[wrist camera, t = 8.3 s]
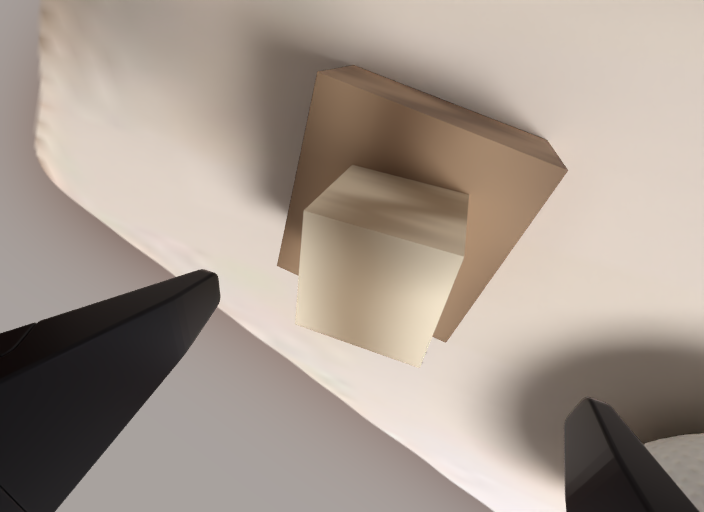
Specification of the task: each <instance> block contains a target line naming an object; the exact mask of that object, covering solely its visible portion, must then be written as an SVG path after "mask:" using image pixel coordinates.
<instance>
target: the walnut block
mask: <svg viewBox="0 0 704 512" xmlns="http://www.w3.org/2000/svg"><path fill="white" fill-rule="evenodd" d="M352 165H355V166H359V167H363V168H367V169H371V170H375V171H378V172H382V173H386V174H390V175H394V176H398V177H402V178H406V179H410V180H414V181H418V182H421V183H425V184H429V185H433V186H437V187H441V188H445V189H449V190H453V191H457V192H461V193H464V194H468V195H469V202H468V215H467V228H466V241H465V254H464V259H463V261H462V264H461V266H460V269H459V271H458V274H457V276H456V279H455V281H454V284H453V286H452V289H451V291H450V294H449V296H448V299H447V301H446V304H445V306H444V309H443V311H442V314H441V316H440V319H439V321H438V324H437V326H436V328H435V331H434V333H433V336H432V337H435V338H437V339H439V340H441V341H443V342H447V340H448V339H449V338H450V336H451V335H452V333H453V332H454V330H455V329H456V328H457V326H458V325H459V323H460V322H461V321H462V319H463V318H464V316H465V315H466V314H467V312H468V311H469V309H470V308H471V307H472V305H473V304H474V302H475V301H476V299H477V298H478V297H479V295H480V294H481V292H482V291H483V290H484V288H485V287H486V285H487V284H488V283H489V281H490V280H491V278H492V277H493V276H494V274H495V273H496V271H497V270H498V268H499V267H500V266H501V264H502V263H503V261H504V260H505V259H506V257H507V256H508V254H509V253H510V252H511V250H512V249H513V247H514V246H515V245H516V243H517V242H518V240H519V239H520V237H521V236H522V235H523V233H524V232H525V230H526V229H527V228H528V226H529V225H530V223H531V222H532V221H533V219H534V218H535V216H536V215H537V214H538V212H539V211H540V209H541V208H542V206H543V205H544V204H545V202H546V201H547V199H548V198H549V197H550V195H551V194H552V192H553V191H554V190H555V188H556V187H557V185H558V184H559V183H560V181H561V180H562V178H563V177H564V175H565V174H566V173H567V171H568V170H567V168H566V167H565V165H564V164H563V162H562V161H561V159H560V158H559V156H558V155H557V154H556V152H555V151H554V149H553V148H552V146H551V145H550V143H549V142H548V140H545V139H543V138H540V137H538V136H535V135H532V134H530V133H527V132H525V131H522V130H520V129H517V128H514V127H512V126H509V125H507V124H504V123H501V122H499V121H496V120H494V119H491V118H489V117H486V116H483V115H481V114H478V113H476V112H473V111H471V110H468V109H465V108H463V107H460V106H458V105H455V104H452V103H450V102H447V101H445V100H442V99H440V98H437V97H434V96H432V95H429V94H427V93H424V92H422V91H419V90H416V89H414V88H411V87H409V86H406V85H404V84H401V83H398V82H396V81H393V80H391V79H388V78H385V77H383V76H380V75H378V74H375V73H373V72H370V71H367V70H365V69H362V68H360V67H357V66H355V65H352V66H346V67H341V68H335V69H330V70H324V71H319V72H317V76H316V81H315V85H314V90H313V95H312V100H311V105H310V109H309V114H308V119H307V124H306V129H305V133H304V138H303V143H302V148H301V153H300V158H299V162H298V167H297V172H296V177H295V182H294V186H293V191H292V196H291V201H290V206H289V211H288V215H287V220H286V225H285V230H284V235H283V239H282V244H281V249H280V254H279V259H278V263H277V266H279V267H281V268H283V269H285V270H287V271H290V272H292V273H294V274H296V275H298V276H299V265H300V252H301V239H302V226H303V213H304V210H305V209H306V208H307V207H308V206H309V205H310V204H311V203H312V202H313V201H314V200H315V199H316V198H317V197H319V196H320V195H321V194H322V193H323V192H324V191H325V190H326V189H327V188H328V187H329V186H330V185H331V184H332V183H333V182H335V181H336V180H337V179H338V178H339V177H340V176H341V175H342V174H343V173H344V172H345V171H346V170H347V169H348V168H349V167H350V166H352Z"/></svg>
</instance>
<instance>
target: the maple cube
mask: <svg viewBox="0 0 704 512" xmlns="http://www.w3.org/2000/svg"><path fill="white" fill-rule="evenodd" d="M468 202H469V195H468V194H464V193H461V192H457V191H453V190H449V189H445V188H441V187H437V186H433V185H429V184H425V183H421V182H418V181H414V180H410V179H406V178H402V177H398V176H394V175H390V174H386V173H382V172H378V171H375V170H371V169H367V168H363V167H359V166H355V165H352V166H350V167H349V168H348V169H347V170H346V171H345V172H344V173H343V174H342V175H341V176H340V177H339V178H338V179H337V180H336V181H335V182H333V183H332V184H331V185H330V186H329V187H328V188H327V189H326V190H325V191H324V192H323V193H322V194H321V195H320V196H319V197H317V198H316V199H315V200H314V201H313V202H312V203H311V204H310V205H309V206H308V207H307V208H306V209H305V210H304V213H303V226H302V239H301V252H300V265H299V278H298V291H297V305H296V318H295V324H296V325H299V326H301V327H304V328H307V329H310V330H313V331H316V332H318V333H321V334H324V335H327V336H330V337H333V338H335V339H338V340H341V341H344V342H347V343H350V344H352V345H355V346H358V347H361V348H364V349H367V350H369V351H372V352H375V353H378V354H381V355H384V356H386V357H389V358H392V359H395V360H398V361H401V362H403V363H406V364H409V365H412V366H415V367H418V368H420V366H421V363H422V361H423V358H424V356H425V353H426V351H427V348H428V346H429V343H430V341H431V338H432V336H433V333H434V331H435V328H436V326H437V324H438V321H439V319H440V316H441V314H442V311H443V309H444V306H445V304H446V301H447V299H448V296H449V294H450V291H451V289H452V286H453V284H454V281H455V279H456V276H457V274H458V271H459V269H460V266H461V264H462V261H463V259H464V254H465V241H466V228H467V215H468Z"/></svg>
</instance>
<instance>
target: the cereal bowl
mask: <svg viewBox="0 0 704 512" xmlns="http://www.w3.org/2000/svg"><path fill="white" fill-rule="evenodd" d="M643 445H644V446H645V447H646V448H647V450H648V451H649V452H650V453H651V454H652V455H653V457H654V458H655V459H656V460H657V461H658V463H659V464H660V465H661V466H662V467H663V469H664V470H665V471H666V472H667V473H668V475H669V476H670V477H671V478H672V479H673V480H674V482H675V483H676V484H677V485H678V486H679V488H680V489H681V490H682V491H683V492H684V494H685V495H686V496H687V497H688V498H689V499H690V501H691V502H692V503H693V504H694V505H695V507H696V508H697V509H698V510H699V511H700V512H704V433H701V434H685V435H678V436H676V437H669V438H662V439H658V440H656V441H651V442H647V443H645V444H643Z"/></svg>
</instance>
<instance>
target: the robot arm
mask: <svg viewBox="0 0 704 512" xmlns="http://www.w3.org/2000/svg"><path fill="white" fill-rule="evenodd" d="M219 302H220V289H219V280H218V276H217V274H215V273H213V272H210V271H207V270H204V269H201V270H197V271H194V272H191V273H188V274H185V275H181V276H178V277H175V278H172V279H169V280H166V281H163V282H160V283H157V284H153V285H150V286H147V287H144V288H141V289H138V290H135V291H132V292H129V293H125V294H123V295H119V296H116V297H113V298H110V299H107V300H104V301H101V302H97V303H94V304H91V305H88V306H85V307H82V308H79V309H76V310H72V311H69V312H66V313H63V314H60V315H57V316H54V317H50V318H48V319H44V320H41V321H39V322H38V323H32V324H29V325H25V326H22V327H19V328H16V329H13V330H10V331H6V332H3V333H0V512H55V511H56V510H57V508H58V507H59V506H60V505H61V504H62V502H63V501H64V500H65V499H66V497H67V496H68V495H69V494H70V493H71V492H72V490H73V489H74V488H75V487H76V485H77V484H78V483H79V482H80V481H81V480H82V478H83V477H84V476H85V475H86V473H87V472H88V471H89V470H90V469H91V467H92V466H93V465H94V464H95V463H96V461H97V460H98V459H99V458H100V457H101V455H102V454H103V453H104V452H105V450H106V449H107V448H108V447H109V446H110V444H111V443H112V442H113V441H114V440H115V438H116V437H117V436H118V434H119V433H120V432H121V431H122V430H123V429H124V427H125V426H126V425H127V424H128V423H129V421H130V420H131V419H132V418H133V417H134V415H135V414H136V413H137V412H138V411H139V409H140V408H141V407H142V406H143V404H144V403H145V402H146V401H147V400H148V398H149V397H150V396H151V395H152V394H153V392H154V391H155V390H156V389H157V388H158V386H159V385H160V384H161V383H162V382H163V380H164V379H165V378H166V377H167V375H168V374H169V373H170V371H172V369H173V368H174V367H175V366H176V365H177V363H178V362H179V361H180V360H181V358H182V357H183V356H184V355H185V353H186V352H187V350H188V349H189V347H190V346H191V345H192V343H193V342H194V341H195V339H196V338H197V336H198V335H199V333H200V332H201V330H202V328H203V327H204V326H205V324H206V323H207V321H208V320H209V318H210V317H211V315H212V313H213V312H214V311H215V309H216V308H217V306H218V304H219ZM564 457H565V501H566V511H567V512H700V511H699V510H698V509H697V508H696V507H695V505H694V504H693V503H692V502H691V501H690V499H689V498H688V497H687V496H686V495H685V494H684V492H683V491H682V490H681V489H680V488H679V486H678V485H677V484H676V483H675V482H674V480H673V479H672V478H671V477H670V476H669V475H668V473H667V472H666V471H665V470H664V469H663V467H662V466H661V465H660V464H659V463H658V461H657V460H656V459H655V458H654V457H653V455H652V454H651V453H650V452H649V451H648V450H647V448H646V447H645V446H644V445H643V444H642V442H641V441H640V440H639V439H638V438H637V436H636V435H635V434H634V433H633V432H632V430H631V429H630V428H629V427H628V426H627V425H626V423H625V422H624V421H623V420H622V419H621V417H620V416H619V415H618V414H617V413H616V411H615V410H614V409H613V408H612V407H611V406H610V405H609V404H607V403H606V402H603V401H600V400H597V399H594V398H591V397H585V398H583V399H582V400H581V401H580V402H579V404H578V405H577V406H576V407H575V408H574V409H573V411H572V412H571V413H570V414H569V415H568V417H567V418H566V420H565V425H564Z"/></svg>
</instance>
